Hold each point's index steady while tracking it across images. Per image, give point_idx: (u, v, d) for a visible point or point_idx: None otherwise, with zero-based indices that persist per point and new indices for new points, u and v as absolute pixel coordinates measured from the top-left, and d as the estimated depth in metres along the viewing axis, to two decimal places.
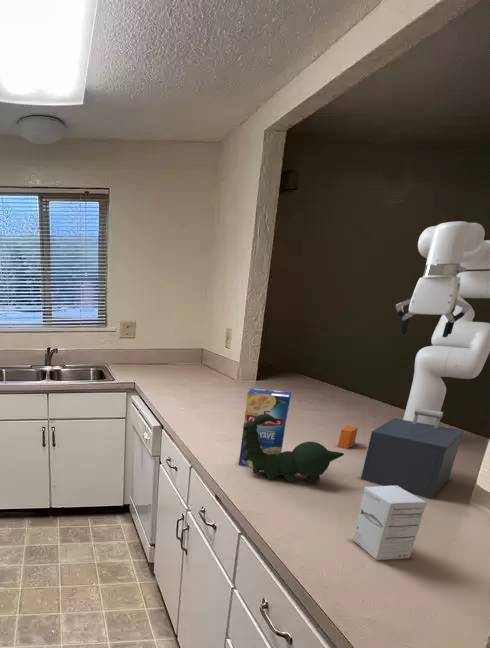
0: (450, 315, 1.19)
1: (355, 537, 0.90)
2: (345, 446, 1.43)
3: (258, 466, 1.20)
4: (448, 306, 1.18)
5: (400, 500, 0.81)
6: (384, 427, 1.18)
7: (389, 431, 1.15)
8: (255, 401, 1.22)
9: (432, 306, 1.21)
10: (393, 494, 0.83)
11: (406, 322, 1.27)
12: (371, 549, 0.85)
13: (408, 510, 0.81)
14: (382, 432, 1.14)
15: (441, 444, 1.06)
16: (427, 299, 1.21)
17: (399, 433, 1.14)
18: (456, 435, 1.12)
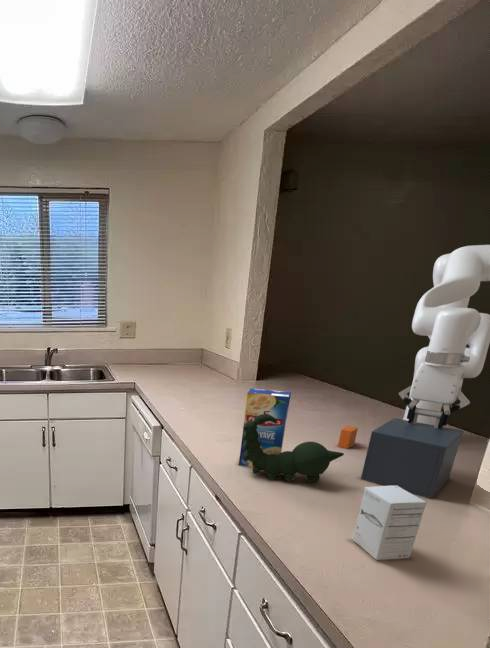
0: (447, 407, 1.14)
1: (355, 537, 0.90)
2: (345, 446, 1.43)
3: (258, 466, 1.20)
4: (451, 396, 1.12)
5: (400, 500, 0.81)
6: (384, 427, 1.18)
7: (389, 431, 1.15)
8: (254, 401, 1.22)
9: (434, 394, 1.15)
10: (393, 494, 0.83)
11: (412, 411, 1.20)
12: (371, 549, 0.85)
13: (408, 510, 0.81)
14: (382, 432, 1.14)
15: (441, 444, 1.06)
16: (429, 386, 1.15)
17: (399, 433, 1.14)
18: (456, 435, 1.12)
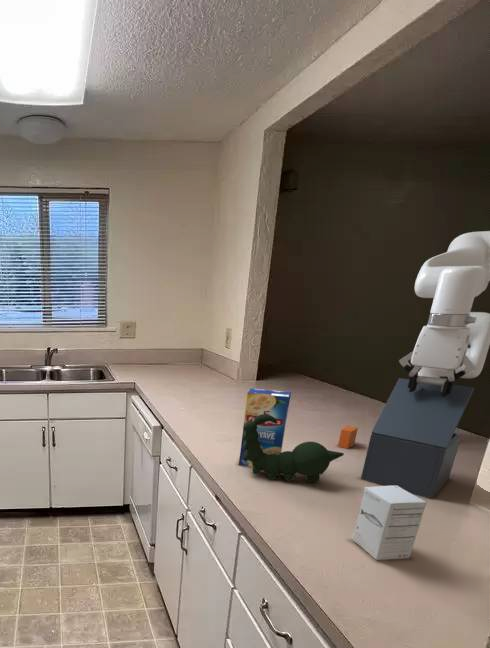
0: (452, 373, 1.06)
1: (355, 537, 0.90)
2: (345, 446, 1.43)
3: (258, 466, 1.20)
4: (456, 361, 1.04)
5: (400, 500, 0.81)
6: (385, 413, 1.16)
7: (390, 424, 1.14)
8: (254, 401, 1.22)
9: (437, 359, 1.07)
10: (393, 494, 0.83)
11: (414, 379, 1.12)
12: (371, 549, 0.85)
13: (408, 510, 0.81)
14: (382, 430, 1.14)
15: (441, 441, 1.05)
16: (432, 351, 1.07)
17: (400, 426, 1.12)
18: (462, 406, 1.07)
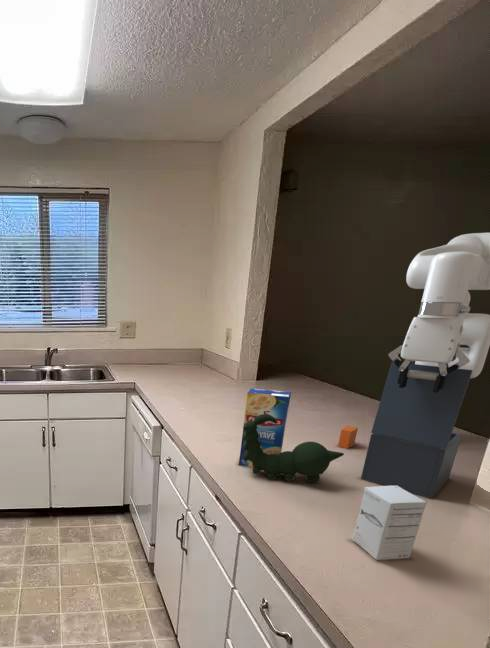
0: (444, 367, 0.98)
1: (355, 537, 0.90)
2: (345, 446, 1.43)
3: (258, 466, 1.20)
4: (449, 353, 0.97)
5: (400, 500, 0.81)
6: (382, 409, 1.13)
7: (388, 422, 1.12)
8: (254, 401, 1.22)
9: (429, 352, 0.99)
10: (393, 494, 0.83)
11: (404, 373, 1.04)
12: (371, 549, 0.85)
13: (408, 510, 0.81)
14: (381, 430, 1.13)
15: (440, 441, 1.04)
16: (423, 343, 1.00)
17: (398, 424, 1.10)
18: (460, 396, 1.01)
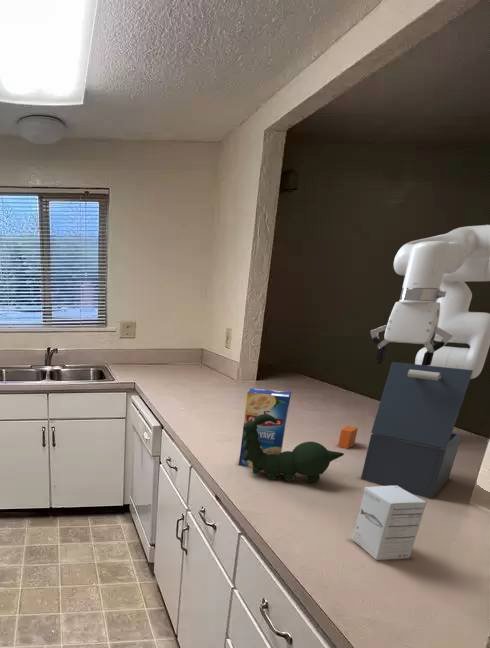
0: (429, 344, 1.07)
1: (355, 537, 0.90)
2: (345, 446, 1.43)
3: (258, 466, 1.20)
4: (427, 335, 1.06)
5: (400, 500, 0.81)
6: (382, 409, 1.13)
7: (388, 422, 1.12)
8: (254, 401, 1.22)
9: (409, 334, 1.08)
10: (393, 494, 0.83)
11: (382, 350, 1.14)
12: (371, 549, 0.85)
13: (408, 510, 0.81)
14: (381, 430, 1.13)
15: (440, 441, 1.04)
16: (404, 326, 1.09)
17: (398, 424, 1.11)
18: (461, 396, 1.01)
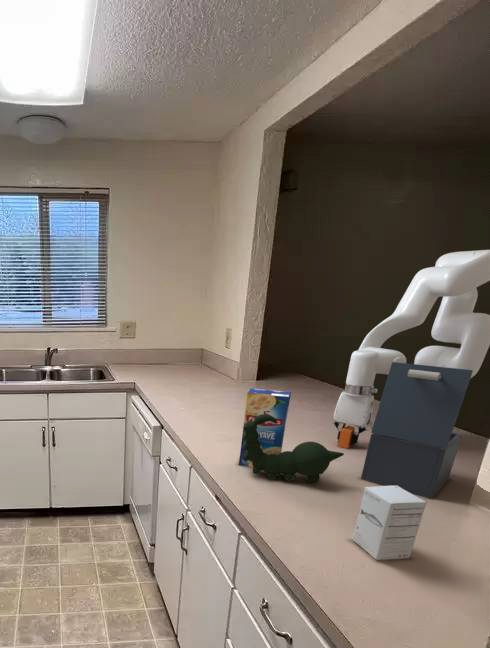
0: (357, 429, 1.40)
1: (355, 537, 0.90)
2: (345, 446, 1.43)
3: (258, 466, 1.20)
4: (364, 420, 1.38)
5: (400, 500, 0.81)
6: (382, 409, 1.13)
7: (388, 422, 1.12)
8: (254, 401, 1.22)
9: (351, 418, 1.40)
10: (393, 494, 0.83)
11: None
12: (371, 549, 0.85)
13: (408, 510, 0.81)
14: (381, 430, 1.13)
15: (440, 441, 1.04)
16: (347, 412, 1.40)
17: (398, 424, 1.11)
18: (461, 396, 1.01)
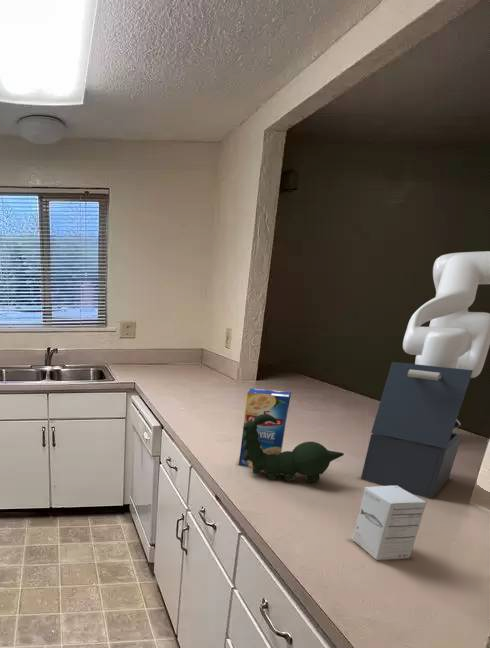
0: None
1: (355, 537, 0.90)
2: None
3: (258, 466, 1.20)
4: None
5: (400, 500, 0.81)
6: (382, 409, 1.13)
7: (388, 422, 1.12)
8: (254, 401, 1.22)
9: None
10: (393, 494, 0.83)
11: None
12: (371, 549, 0.85)
13: (408, 510, 0.81)
14: (381, 430, 1.13)
15: (440, 441, 1.04)
16: None
17: (398, 424, 1.11)
18: (461, 396, 1.01)
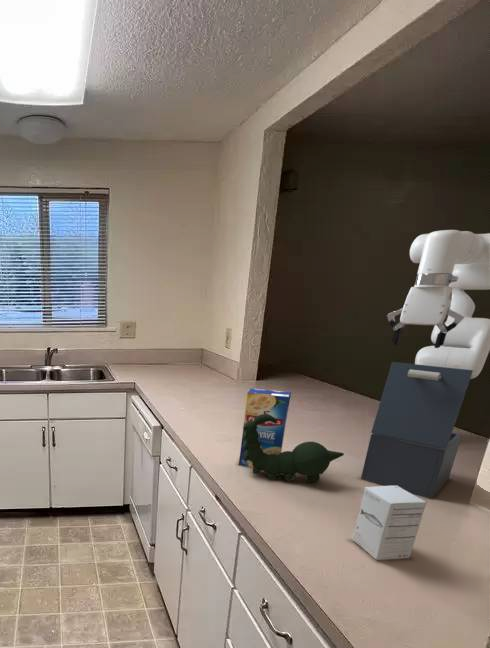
0: (442, 326, 1.16)
1: (355, 537, 0.90)
2: None
3: (258, 466, 1.20)
4: (440, 317, 1.15)
5: (400, 500, 0.81)
6: (382, 409, 1.13)
7: (388, 422, 1.12)
8: (254, 401, 1.22)
9: (424, 316, 1.18)
10: (393, 494, 0.83)
11: (397, 332, 1.24)
12: (371, 549, 0.85)
13: (408, 510, 0.81)
14: (381, 430, 1.13)
15: (440, 441, 1.04)
16: (419, 309, 1.18)
17: (398, 424, 1.11)
18: (461, 396, 1.01)
